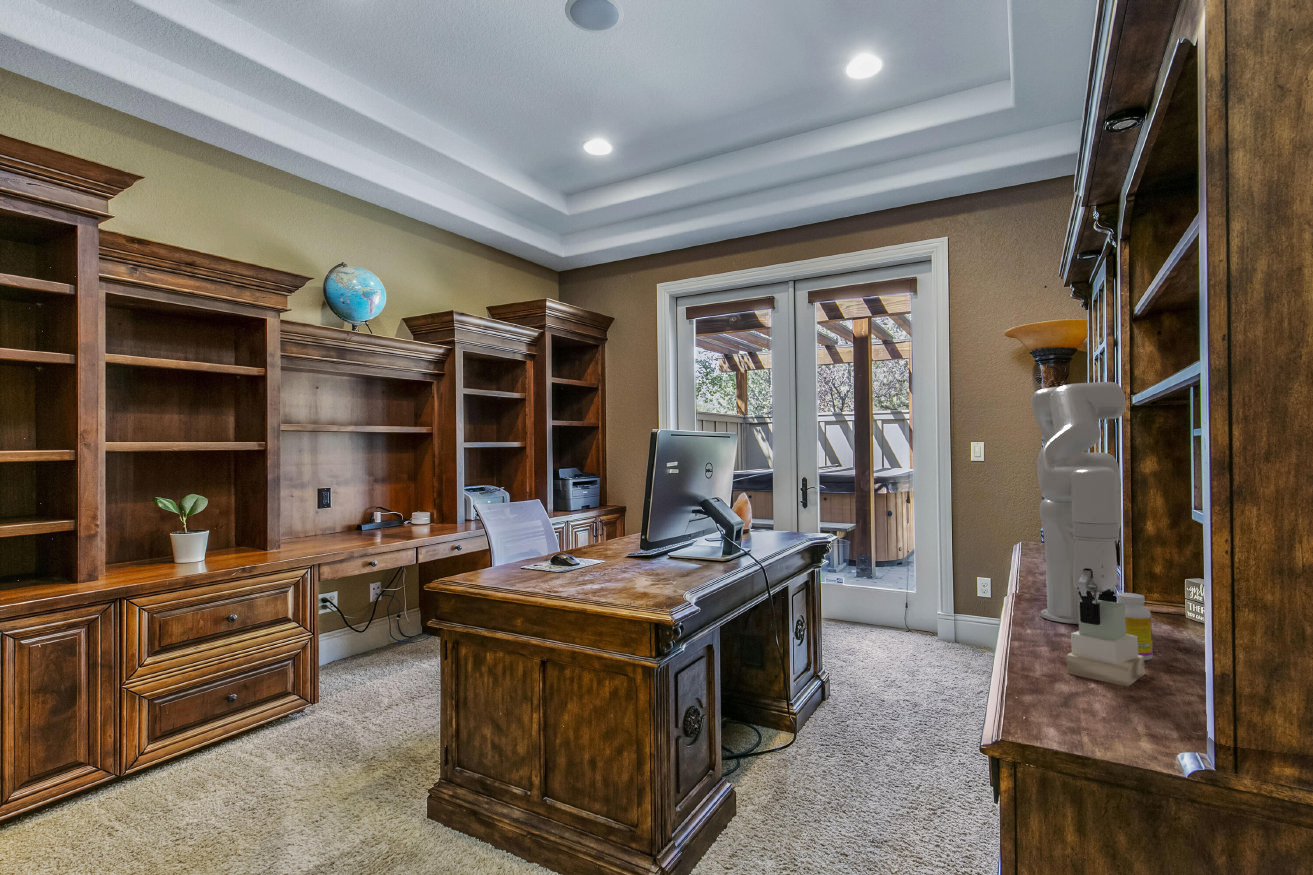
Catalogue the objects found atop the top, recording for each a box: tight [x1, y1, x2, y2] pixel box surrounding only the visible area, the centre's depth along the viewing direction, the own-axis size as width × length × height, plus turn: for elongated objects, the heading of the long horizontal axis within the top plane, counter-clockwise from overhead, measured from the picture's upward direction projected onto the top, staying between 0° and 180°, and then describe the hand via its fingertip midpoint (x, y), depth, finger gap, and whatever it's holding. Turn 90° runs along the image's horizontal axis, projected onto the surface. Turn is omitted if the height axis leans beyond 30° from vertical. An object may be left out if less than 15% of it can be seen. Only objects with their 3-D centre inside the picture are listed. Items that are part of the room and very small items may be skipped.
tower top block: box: [1070, 630, 1138, 665], centre depth 127 cm, size 8×8×4 cm
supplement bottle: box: [1116, 592, 1154, 661], centre depth 136 cm, size 7×7×13 cm
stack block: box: [1078, 600, 1126, 641], centre depth 127 cm, size 6×6×6 cm
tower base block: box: [1066, 651, 1146, 688], centre depth 126 cm, size 10×10×4 cm
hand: (1099, 618), depth 127 cm, fingers open, 9 cm apart
